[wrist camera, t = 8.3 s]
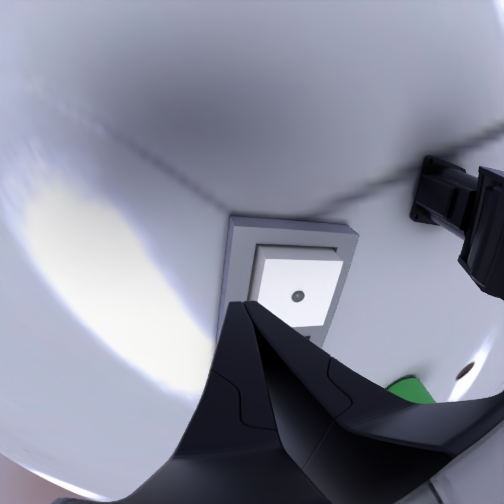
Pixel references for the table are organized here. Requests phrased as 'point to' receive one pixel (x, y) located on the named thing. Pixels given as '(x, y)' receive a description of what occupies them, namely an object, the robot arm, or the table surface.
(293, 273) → the tile
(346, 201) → the table surface
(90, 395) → the table surface
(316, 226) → the board
